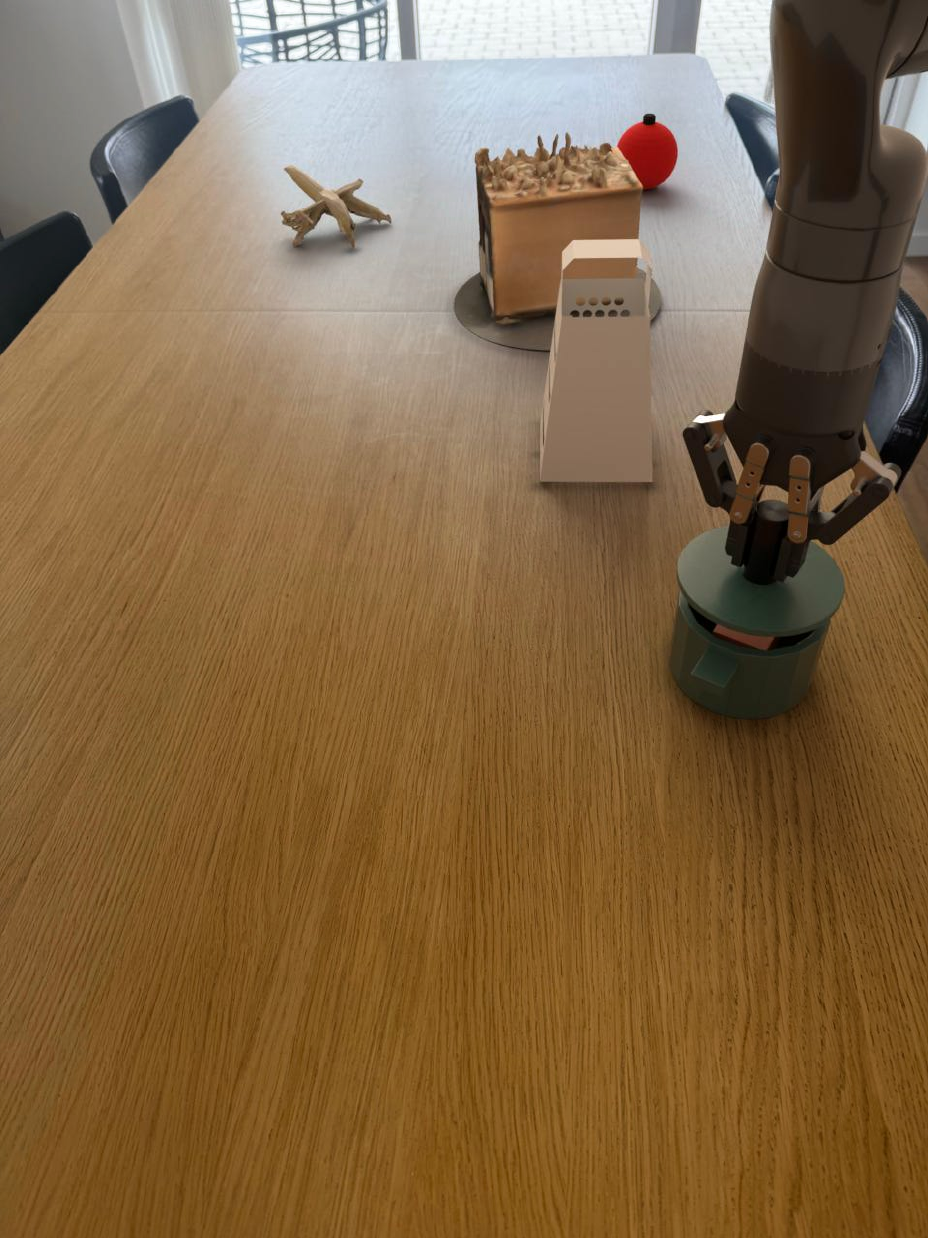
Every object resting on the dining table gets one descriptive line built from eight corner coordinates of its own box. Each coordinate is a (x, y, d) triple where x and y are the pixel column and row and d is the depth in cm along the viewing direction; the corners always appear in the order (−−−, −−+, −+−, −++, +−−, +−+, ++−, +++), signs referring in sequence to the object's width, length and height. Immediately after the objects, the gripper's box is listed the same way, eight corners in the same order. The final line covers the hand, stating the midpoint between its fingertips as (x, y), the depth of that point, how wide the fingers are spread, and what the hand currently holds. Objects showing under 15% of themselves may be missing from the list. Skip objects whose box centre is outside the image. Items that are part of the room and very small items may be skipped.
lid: (862, 568, 68) (887, 491, 64) (808, 667, 62) (831, 589, 57) (713, 518, 73) (726, 443, 68) (648, 605, 66) (658, 528, 62)
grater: (540, 421, 99) (543, 224, 85) (644, 421, 98) (664, 222, 84) (539, 481, 91) (543, 276, 77) (652, 482, 90) (676, 275, 77)
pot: (841, 629, 76) (861, 566, 71) (766, 766, 66) (784, 704, 62) (716, 583, 80) (727, 521, 75) (629, 706, 71) (637, 644, 66)
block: (776, 656, 73) (786, 618, 70) (756, 690, 71) (766, 651, 68) (726, 637, 75) (734, 598, 72) (705, 669, 72) (712, 631, 70)
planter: (556, 375, 105) (561, 199, 92) (412, 302, 119) (399, 140, 106) (703, 300, 116) (726, 133, 103) (556, 241, 130) (560, 88, 117)
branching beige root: (312, 281, 130) (241, 208, 132) (387, 263, 141) (320, 195, 143) (334, 228, 124) (259, 151, 126) (411, 213, 135) (340, 142, 137)
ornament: (679, 196, 140) (688, 122, 133) (618, 200, 140) (623, 126, 133) (667, 174, 147) (675, 102, 140) (608, 177, 147) (613, 106, 140)
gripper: (672, 331, 55) (645, 563, 67) (925, 395, 49) (845, 637, 61) (724, 280, 59) (690, 506, 71) (962, 334, 53) (881, 570, 65)
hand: (762, 566), depth 66 cm, fingers closed on lid, 2 cm apart
